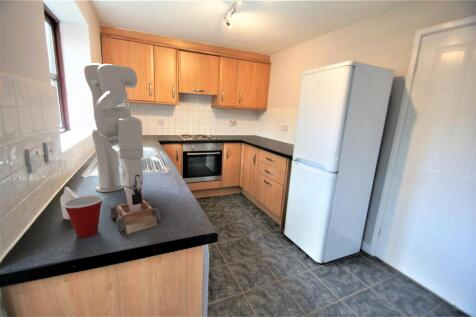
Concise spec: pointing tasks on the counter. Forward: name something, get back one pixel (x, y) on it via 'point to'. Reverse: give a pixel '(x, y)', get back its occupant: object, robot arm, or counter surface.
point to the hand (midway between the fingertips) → (134, 200)
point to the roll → (65, 197)
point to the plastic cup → (84, 214)
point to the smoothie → (129, 198)
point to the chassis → (134, 217)
